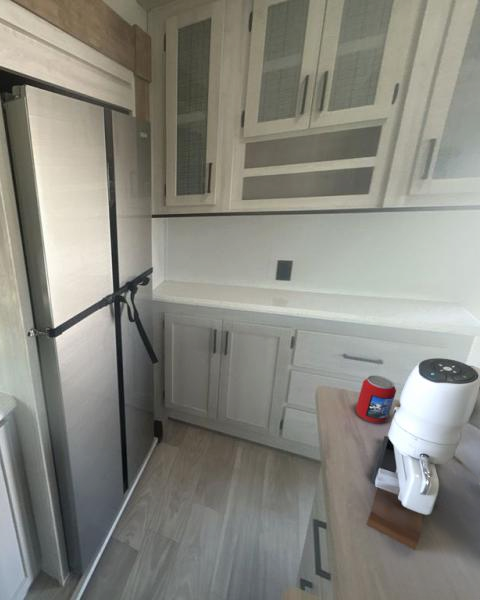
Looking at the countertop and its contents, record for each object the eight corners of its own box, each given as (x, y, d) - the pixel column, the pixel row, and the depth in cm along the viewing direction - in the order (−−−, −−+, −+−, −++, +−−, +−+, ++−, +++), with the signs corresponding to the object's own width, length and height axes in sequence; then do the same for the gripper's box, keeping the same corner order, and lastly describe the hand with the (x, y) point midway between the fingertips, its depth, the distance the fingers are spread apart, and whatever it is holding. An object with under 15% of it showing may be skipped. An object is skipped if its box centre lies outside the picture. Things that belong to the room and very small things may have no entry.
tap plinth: (414, 550, 62) (420, 536, 61) (366, 524, 67) (371, 511, 66) (419, 508, 69) (425, 495, 67) (375, 488, 74) (380, 475, 72)
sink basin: (381, 446, 84) (384, 435, 82) (431, 466, 77) (436, 454, 76) (371, 482, 75) (374, 471, 74) (427, 508, 69) (432, 496, 67)
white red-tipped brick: (375, 486, 70) (380, 472, 68) (374, 480, 71) (379, 466, 70) (428, 505, 65) (434, 491, 64) (427, 499, 66) (433, 484, 65)
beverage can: (374, 427, 89) (385, 391, 84) (349, 411, 95) (358, 377, 91) (392, 421, 90) (404, 385, 86) (367, 405, 96) (376, 371, 92)
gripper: (458, 488, 53) (432, 542, 59) (434, 412, 68) (416, 461, 73) (405, 470, 57) (385, 523, 62) (393, 402, 72) (378, 449, 77)
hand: (401, 489), depth 68 cm, fingers open, 4 cm apart
